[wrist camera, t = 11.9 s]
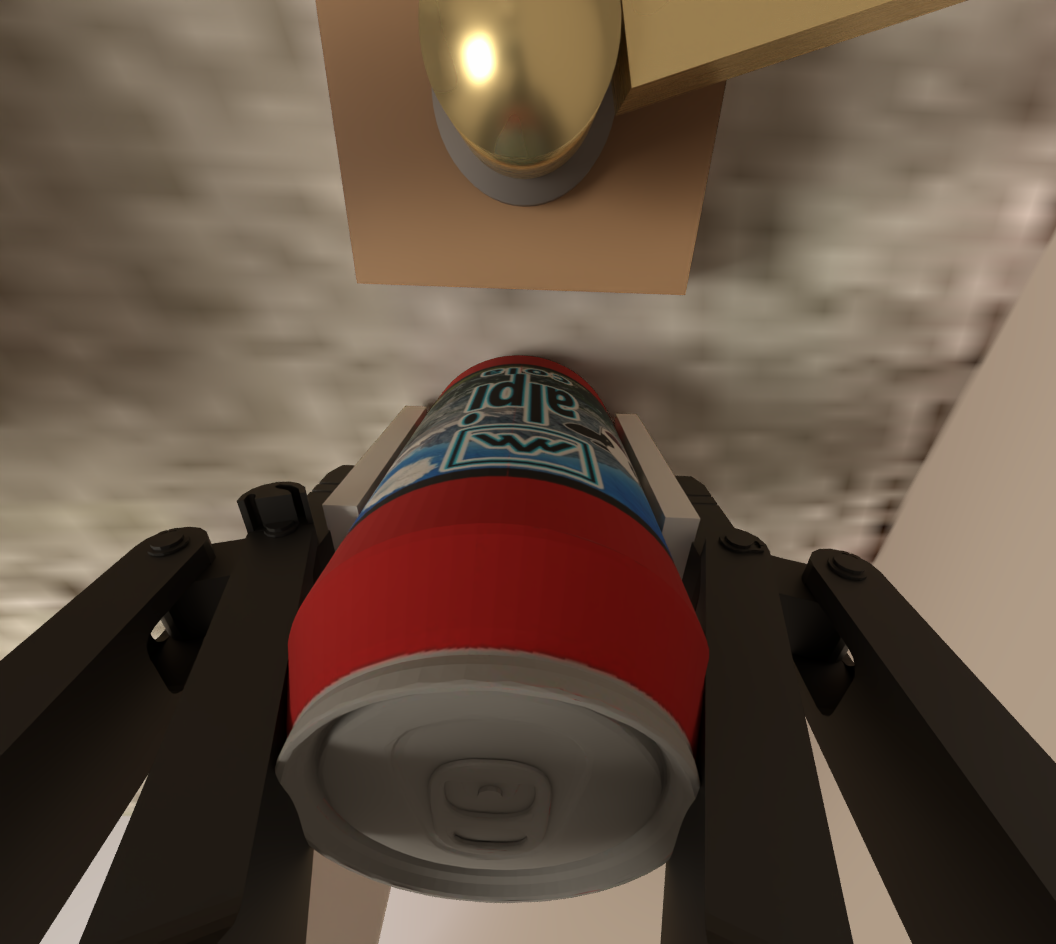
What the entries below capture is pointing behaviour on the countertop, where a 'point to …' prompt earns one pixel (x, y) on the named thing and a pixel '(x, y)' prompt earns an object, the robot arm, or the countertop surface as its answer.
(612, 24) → the lever
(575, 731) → the beverage can
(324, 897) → the milk carton
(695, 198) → the pedestal
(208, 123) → the countertop surface
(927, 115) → the countertop surface
